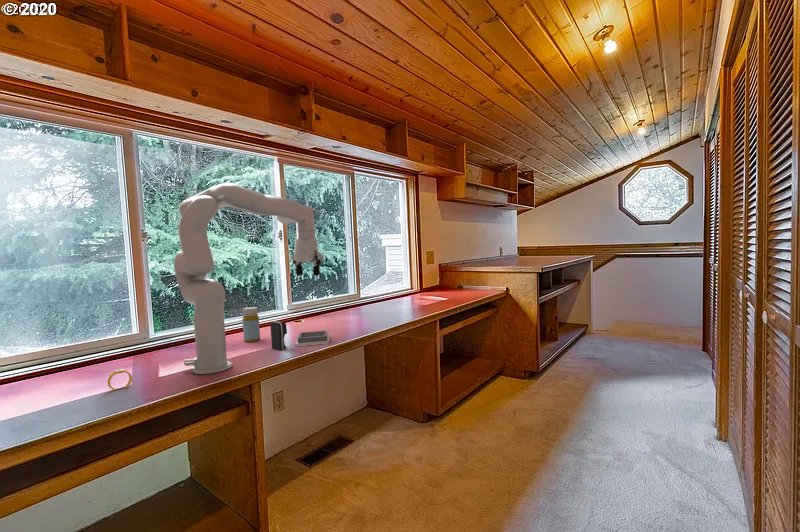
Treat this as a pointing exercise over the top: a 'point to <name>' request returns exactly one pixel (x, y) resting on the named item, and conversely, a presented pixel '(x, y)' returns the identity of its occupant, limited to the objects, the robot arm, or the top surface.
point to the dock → (312, 338)
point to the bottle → (250, 324)
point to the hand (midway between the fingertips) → (308, 275)
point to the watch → (117, 373)
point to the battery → (278, 334)
